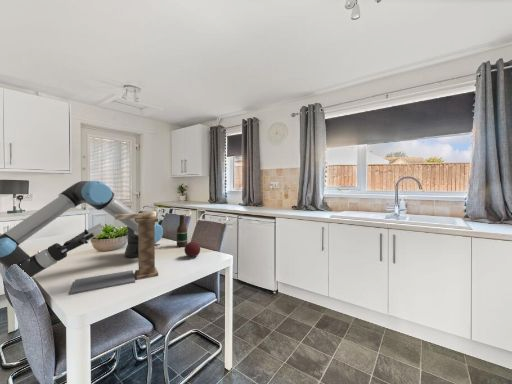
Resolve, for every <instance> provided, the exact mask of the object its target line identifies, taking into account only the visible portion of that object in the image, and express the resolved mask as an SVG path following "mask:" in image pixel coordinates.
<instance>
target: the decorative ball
mask: <svg viewBox="0 0 512 384" xmlns="http://www.w3.org/2000/svg"><path fill="white" fill-rule="evenodd" d="M200 252H201V246H200V244H199V243H198V242H197V241H190V242H187V245H186V246H185V247H184V254H185V255H186V256H187V257H188V258H195V257H197V256H198V255H200Z"/></svg>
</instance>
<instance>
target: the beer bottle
mask: <svg viewBox="0 0 512 384" xmlns="http://www.w3.org/2000/svg"><path fill="white" fill-rule="evenodd" d="M185 223H186V222H185V214H180V215H179V223H178V226H177V229H176V247H177V248H180V247H182V248H185V246H186V245H187V244H188V229H187V227H186V225H185Z"/></svg>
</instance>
